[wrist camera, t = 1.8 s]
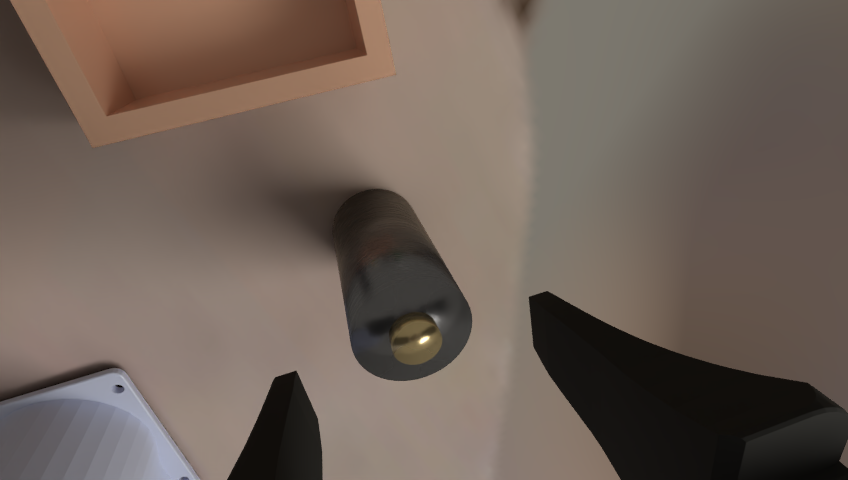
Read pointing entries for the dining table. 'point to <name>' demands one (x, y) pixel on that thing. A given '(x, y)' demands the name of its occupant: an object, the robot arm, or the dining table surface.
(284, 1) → the tray
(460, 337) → the pepper mill
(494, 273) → the dining table surface
